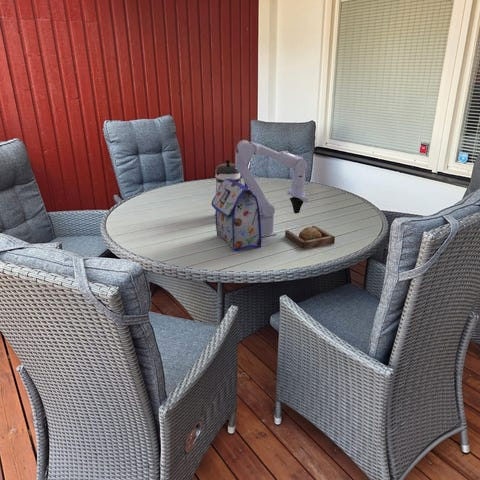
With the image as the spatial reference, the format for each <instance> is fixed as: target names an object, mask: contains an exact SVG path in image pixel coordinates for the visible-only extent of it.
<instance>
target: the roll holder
mask: <svg viewBox="0 0 480 480" xmlns="http://www.w3.org/2000/svg"><path fill="white" fill-rule="evenodd" d="M311 227H313V228H315V229H317V230H318V231H319V232H320V233H321V235H322V238H318V239H313V240H308V241H304V240H303V239H301V238H299V235H296V234H295V233H293V232H292V231H290V230H288V229H287V230H284V231H285V233H284V237H285V238H286V239H287V240H289V241H290V242H292V243H293V244H295V245H296V246H298V247H299V248H301V249H302V250H307V249H311V248H317V247H322V246H327V245H330V244H335V240H336V236H335V235H333V234H330V233H329V232H327V230H324V229H322V228H320V227H318V226H316V225H311Z"/></svg>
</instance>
